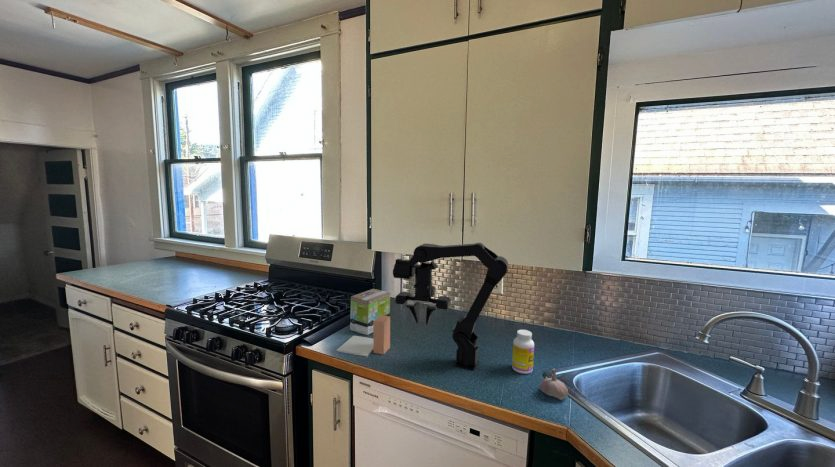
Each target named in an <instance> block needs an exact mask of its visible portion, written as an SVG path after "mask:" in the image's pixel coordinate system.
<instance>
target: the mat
mask: <svg viewBox="0 0 835 467" xmlns="http://www.w3.org/2000/svg"><path fill="white" fill-rule="evenodd" d="M336 352H339V353H345V354H349V355H356V356H361V357H366V358H367V357H368V356H369V355H370V354H371V353H372V352H373V337H365V336H360V335H352V336H351V337H350V338H349V339H347V341H345V342H344V343H343V344H342V345H341V346H339V347H338V348H337V349H336Z"/></svg>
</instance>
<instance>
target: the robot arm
mask: <svg viewBox="0 0 835 467" xmlns="http://www.w3.org/2000/svg"><path fill="white" fill-rule="evenodd" d="M460 257H462V258H463V257H464V258H465V257H475V258H476V259H478V260H479V262H481V264H482V265H483V266H484V267H486V268H487V270H486V273H485V274H486V275H485V278H484V282H483V283H482V285H481V287H480V289H479V291H478V293H477V294H476V296H475V298H474V300H473V302H472V304H471V306H470V307H469V310H468V311H467V313H466V314H465V316H462V315H460V316H459V318H457V320H456V323H455V325H454V327H453V328H452V330H451V333H452V340H453V341H454V343H455V344H456V345H457V348H456V351H455V352H456V354H455V360H456V362H455V363H454V365H455V366H456V367H459V368H463V369H465V370H466V369H467V370H471V371H474V370H475V369H476V367H478V366H479V364H480V360H479V346H477V345H478V341H479V338H480V337H479V336H478V335H477V334H476V332H474V329H475V326H476V322H477V320H478V318H479V317H480V314H481V313H482V311H483V309H484V307H485V305H486V304H487V301H488V299H489V297H490V296H491V294H492V292H493V290H494V289H495V287H496V286H498V284H499V283H500V282H501V280H503V278H504V277H505V276H506V274H507V272H508V269H509V262H508V260H507V258H505V257H504V256H500V255H497V253H495V252H494V251H493V250H491V249H489V248H488V247H487V246H485V245H484V244H483V243H482V242H475V243H464V244H463V243H462V244H450V245H448V244H447V245H438V244H434V243H422V244H420V245H418V246H416V247H415V249H413V255H412V257H411V258H409V259H403V258H396V259H395V263H394V265H393V269H392V277H393V278H394V279H404V280H411V279H412V278H413V277H414V285H413V289H414V295H412V294H411V292H408V291H400V292H399V293H398V294H397V295H396V296H395V297H394V303H395V304H396V305H404V304H405V303H406V302H407V303H406V304H407V305H406V308H408V309H409V310H410V312H411V314H412V317H413V318H414V321H415V323H416V324H417V325H418V324H419V322H420V313H419V305H420V304H421V303H422V304H428V306H427V307H426V314H425V325H426V326H428V325H429V322H430V320H431V317H432V314H433V312H434V311H436V310H437V309H438V310H445V311H446V310H449V308H450V306H452V302H451V301H452V299H451V298H450V297H449V296H443V295H439V296H438V298H433V297H434V296H435V293H436V286H433V282H432V281H433V280H432V278H433V277H432V276H433V275H432V272H433V270H436V269H438V268H439V266H438V264H436V263H435V262H434V261H435V260H439V259H443V258H444V259H445V258H460ZM419 263H420V264H419Z"/></svg>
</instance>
